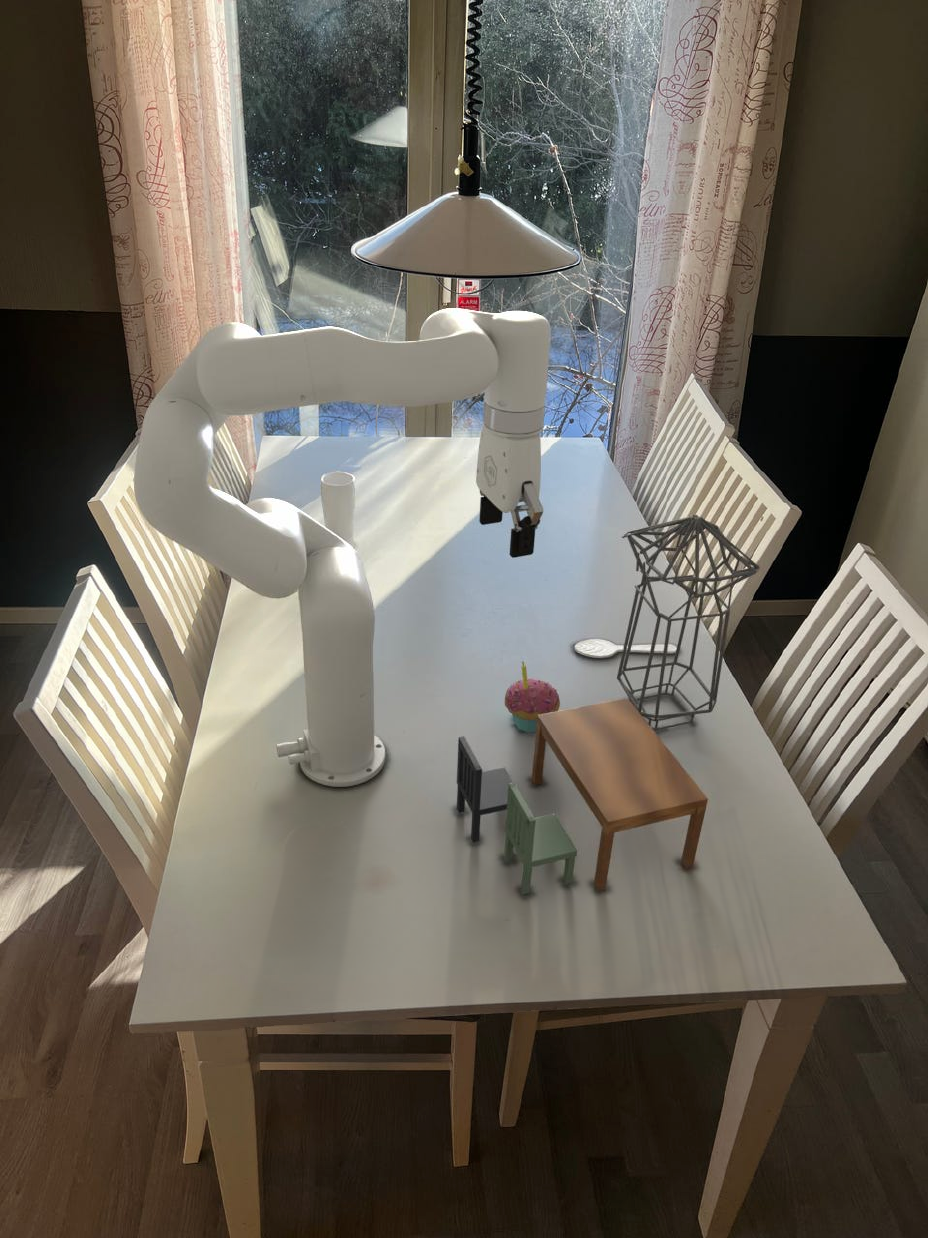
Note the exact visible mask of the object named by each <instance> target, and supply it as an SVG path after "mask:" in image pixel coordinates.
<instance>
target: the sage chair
mask: <svg viewBox="0 0 928 1238" xmlns="http://www.w3.org/2000/svg"><path fill="white" fill-rule="evenodd" d="M504 831H505V840H504V842H505V843H504V852H503V853H504V854H503V858H504V860H505V862H507V863H508V862H512V861H513V857H514V850H515V852H516V855H517V856H518V858H519V859H520V861H521V863H522V873H521V884H520V885H521V886H520V891H521V893H522V895H529V894H530V893H531V885H532V884H531V883H532V873H533V868H534V867H539V866H543V865H547V864H551V863H555V862H559V861H563V860H564V861H565V862H564V869H563V881H564V883H565V885H568V884H572V883H573V878H574V870H575V863H576V857H577V856H578V850H577V848H576V846H575V844H574V843H573V841H572V839H571V837H570V835H568V833H567V830H565V828H564V826H563V824H562V823H561V821H560V819H559V817H558V816H557V814H556V813H551V814H547V815H543V816H538V817H535V816H534V815H533V812H532V811H531V810H530V807H529V806H528V804H527V802H526V800H525V799H524V797H523V795H522V794H521V792H520V790H519V788H518V786H517V785H516V783H515V782H513V783H511V784H509V787H508V799H507V810H506V812H505V827H504Z"/></svg>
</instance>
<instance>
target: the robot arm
mask: <svg viewBox="0 0 928 1238" xmlns="http://www.w3.org/2000/svg"><path fill="white" fill-rule="evenodd" d="M551 341H552V328H551V324H550V322H549V321H548V320H547V318H546V317H544V316H543V315H540V314H538V313H535V312H530V311H523V310H511V311H503V312H501V313H494V312H485V311H477V310H470V309H464V308H452V307H451V308H444V309H440V310H438V311H436V312H433V313H432V314H431V315H429V317H427V319H426V320H425V321H424V322H423V324H422V326H421V329H420V333H419V340H413V341H412V340H411V341H384V340H378V339H374V338H368V337H366V336H363V335H361V334H358V333H355V332H353V331H350V330H348V329H346V328H342V327H338V326H337V327H336V326H321V327H314V328H308V329H301V330H294V331H287V332H286V331H285V332H278V333H272V334H264V335H261V334H260V332H258V331H257V330H256V329H254V328H253V327H251V326H249V325H247V324H244V323H241V322H234V321H233V322H224V323H221V324H218V325H215V326H213V327H212V328H211V329H209V330H208V331H207V332H205V333H204V335H203V336H202V337H201V338H200V339H199V340H198V342H197V343H196V344H195V346H194V347H193V349H192V350H191V351H190V352H189V354H188V355H187V356H186V358H184V360H183V362H181V364H180V365H179V366H178V368H177V369H175V372H174V373H173V374H172V375H171V376H170V377H169V378H168V380H167V382H166V383H164V385H163V387H162V388H161V389H160V390H159V391H158V393H157V394H156V395H155V397H154V398H153V400H151V402H150V404H149V406H148V407H147V409H146V412H145V414H144V416H143V417H144V418H143V419H142V425H141V432H140V435H139V439H138V444H137V450H136V457H135V463H134V473H133V492H134V498H135V502H136V504H137V507H138V509H139V511H140V513H141V515H142V516H143V518H144V519H145V520H146V522H147V523H148V524H149V525H150V526H151V527H152V528H153V529H154V530H156V532H158V533H160V534H161V535H162V536H164V537H166V538H168V539H169V540H171V541H172V542H174V543H176V544H178V545H179V546H180V547H183V548H184V549H186V550H188V551H190V552H191V553H192V554H195V555H196V556H198V558H200V559H202V560H204V561H205V562H206V563H207V564H209V565H211V566H213V567H214V568H215V569H217V570H219V571H220V572H222V573H224V574H225V575H227V576H229V577H230V578H232V579H233V580H235V581H236V582H238V583H240V584H241V585H242V586H244V587H245V588H247V589H249V590H250V591H252V592H254V593H256V594H258V595H260V596H261V597H265V598H268V599H275V600H276V599H277V600H278V599H285V598H287V597H290V596H292V595H293V594H295V593H296V592H297V594H298V604H299V612H300V624H301V625H300V627H301V634H302V656H303V672H304V683H305V686H304V687H305V701H306V702H305V703H306V716H307V717H306V718H307V729H303V737H297V740H296V741H291V742H288V741H287V742H286V741H285V742H281V743H276V745H275V747H276V748H275V749H276V754H277V757H278V758H283V757H287V760H288V764H289V766H291V765H292V766H293V765H296V764H299V767H300V769H301V771H302V772H303V773H304V775H305V776H307V777H308V779H310V780H312V781H313V782H315V783H317V784H320V785H323V786H327V787H335V788H343V787H352V786H357V785H360V784H362V783H366V782H367V781H369V780H371V779H373V778H374V777H375V776H377V775H378V774H379V773H380V772H381V771H382V769H383V767H384V766H385V762H386V747H385V745H384V743H383V742H382V740H381V739H380V738H379V737H378V736H376V734H375V689H374V688H375V687H374V686H375V685H374V681H375V680H374V677H375V676H374V637H375V625H376V616H375V607H374V606H375V605H374V602H373V601H374V600H373V597H372V592H371V588H370V584H369V581H368V578H367V574H366V570H365V567H364V564H363V561H362V558H361V557H360V554H358V551H356V550H355V548H353V546H352V547H351V546H350V545H349V544H348V543H347V542H345V541H344V540H343V539H341V538H340V537H338V536H337V535H335V534H334V533H333V532H331V531H330V530H328V529H327V528H325V525H322V524H321V523H320V522H318V521H317V520H315V519H314V518H313V517H311V516H310V515H308V514H307V513H305V512H303V511H302V510H301V509H299V508H297V507H296V506H295V505H293V504H291V503H289V502H287V501H284V500H281V499H276V498H274V497H273V498H271V497H263V498H257V499H254V500H251V501H249V502H247V503H246V504H243V503H242V502H241V501H240V500H238V499H237V498H236V497H234V496H232V495H230V494H228V493H226V492H224V491H221V490H219V489H216V488H213V487H212V486H211V484H210V482H209V478H210V474H211V469H212V465H213V460H214V437H215V436H216V434H217V433H218V432H219V431H220V429H221V428H222V427H223V425H224V424H225V423H226V422H227V421H228V419H229V418H230V417H231V416H247V415H254V414H255V415H256V414H262V413H269V412H277V411H281V410H289V409H296V408H302V407H308V406H315V405H316V406H318V405H323V404H324V405H325V404H331V403H333V404H334V403H341V402H342V403H343V402H346V403H347V402H348V403H353V404H360V405H366V406H367V405H368V406H382V407H395V408H414V407H415V408H416V407H425V406H431V405H439V404H446V403H453V402H459V401H464V400H467V399H471V398H473V397H475V396H478V395H480V394H481V393H483V392H484V398H483V417H482V420H483V421H482V427H481V432H480V437H479V444H478V452H477V462H476V475H475V484H476V486H477V488H478V489H479V495H480V496H481V497H480V500H479V501H480V502H479V520H478V521H479V523H480V525H482V526H485V525H491V524H498V523H502V521H503V516H504V515H503V513H504V514H508V513H510V515H511V519H512V523H513V527H514V528H510V539H509V541H510V542H509V556H510V557H511V558H512V559H514V558H520V557H526V556H531V555H533V554H534V550H535V538H536V530H537V529H538V528H539V527H538V526H539V525H540V524H541V518H542V516H543V514H544V507H543V505H542V503H541V502H542V501H541V500H540V491H541V478H542V477H541V475H542V473H541V472H542V444H541V443H542V442H541V435H540V434H541V433H543V431H544V425H545V422H544V421H545V410H546V400H547V387H548V375H549V363H550V350H551ZM519 503H523V504H521V505H518V504H519ZM522 512H526V513H527V515H525V516H524V517H522V519H521V517H520V513H522Z"/></svg>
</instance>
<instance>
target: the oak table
mask: <svg viewBox="0 0 928 1238" xmlns="http://www.w3.org/2000/svg"><path fill="white" fill-rule="evenodd" d="M648 723H649V722H647V720H646V718H645V717H643V716H641V714H640V713H639V712H638V711H637V709H636V708H635V707H634V706H633V704H632V702H630V701H629V697H624V698H618V699H614V700H608V701H603V702H598V703H594V704H593V703H592V704H589V705H588V704H587V705H583V706H577V707H573V708H567V709H563V710H558V711H557V712H551V713H546V714H541V715H538V716H537V727H536V732H535V737H534V738H535V739H534V749H533V761H532V769H531V770H532V771H531V772H532V773H531V782H532V783H533V786H538V785H542V784H543V777H544V766H545V757H546V749H547V748H546V747H547V744H548V746H549V748H550V749H551V751H552V752H553V754H554V756H555V757H556V758H557V760H558V762H559V763H560V765H561V767H563V769H564V771H565V772H566V774H567V776H568V777H569V779H570V780H571V782H572V784H573V785H574V786H575V788H576V789H577V791H578V792H579V794H580V796H581V798H583V800H584V802H585V804H586V805H587V806H588V808H589V809H590V811H591V813H592V814H593V816H594V817H595V819H596V820H597V822H598V823H599V825H600V826H601V833H600V838H599V839H600V840H599V846H598V852H597V859H596V864H595V865H596V866H595V873H594V880H593V886H594V887H595V889H596V891H597V892H598V891H602V890H606V889H607V883H608V876H609V869H610V864H611V859H612V858H611V857H612V851H613V845H614V838H615V833H619V832H624V831H628V830H632V829H636V828H640V827H644V826H648V825H652V824H657V823H662V822H665V821H669V820H673V819H677V818H683V817H686V816H690V817H689V822H688V826H687V831H686V836H685V842H684V845H683V850H682V855H681V859H680V863H681V865H682V866H683V867H684V869H689V868H692V867H694V864H695V860H696V854H697V850H698V845H699V842H700V837H701V833H702V827H703V823H704V819H705V814H706V810H707V805H708V800H709V798H708V797H707V795H706V794H705V793H704V791H703V790H702V789H701V788H700V787H699V786H698V785H697V783H696V782H695V781H694V779H693V778H692V777H691V776H690V774H689V773H688V771H687V770H686V769H685V768H684V767H683V766H682V765H681V763H680V762H679V760H678V759H677V757H676V756H674V754H673V753H672V752H671V750H670V749H669V748H668V747H667V745H666V744H665V743H664V741H663V740H662V739H661V738H660V737H659V736H658V734H657V733H656V731H655V730H653V729H652V728H653V727H652V726H649V724H648Z"/></svg>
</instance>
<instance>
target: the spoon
mask: <svg viewBox="0 0 928 1238" xmlns="http://www.w3.org/2000/svg"><path fill="white" fill-rule="evenodd" d="M664 644H665V643H656V644H655V649H654V653H653V654H663V652H664ZM651 645H652V643H650V644H648V643H647V644H646V643H645V644H632V646H631V650H630V653H644V654H647V653H648V654H650V650H651ZM623 648H624V644H615V643H613V642H611V641H609V640H607V639H603V638H589V639H583V640H581V641H578V642H576V643H575V645H574V650H575V652H576V653H578V654H580V655H582V656H585V657H589V658H594V659H605V658H610V657H613V656H614V655H616V653H620V652H621V653H622V652H623ZM627 648H628V645H627ZM676 649H677V646H676V645H674V644H673V643H668V649H667V654H675V653H676ZM626 652H627V650H626Z"/></svg>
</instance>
